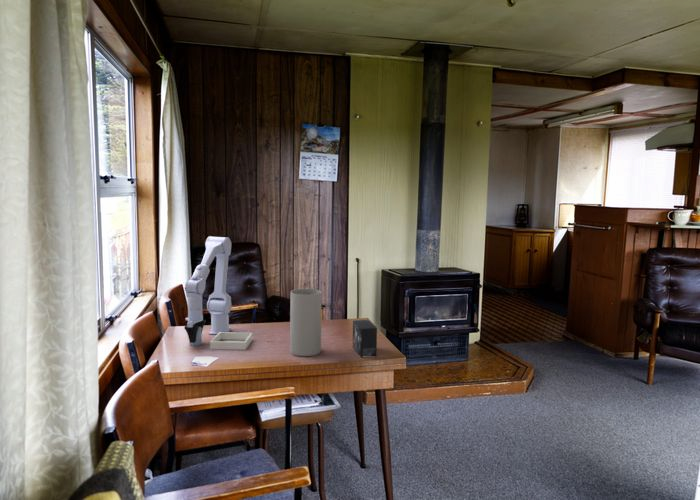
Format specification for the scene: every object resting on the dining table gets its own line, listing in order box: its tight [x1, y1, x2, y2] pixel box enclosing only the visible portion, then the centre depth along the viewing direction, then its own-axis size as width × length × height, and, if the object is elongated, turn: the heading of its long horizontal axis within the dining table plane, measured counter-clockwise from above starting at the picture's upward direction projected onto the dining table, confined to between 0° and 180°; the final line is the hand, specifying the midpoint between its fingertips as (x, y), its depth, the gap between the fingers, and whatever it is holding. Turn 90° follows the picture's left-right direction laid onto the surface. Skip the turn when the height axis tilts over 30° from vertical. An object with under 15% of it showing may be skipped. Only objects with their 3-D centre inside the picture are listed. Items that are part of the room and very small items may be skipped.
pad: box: [224, 340, 243, 342], centre depth 211 cm, size 7×7×1 cm
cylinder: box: [188, 327, 203, 347], centre depth 209 cm, size 5×5×7 cm
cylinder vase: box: [289, 288, 323, 357], centre depth 201 cm, size 12×12×25 cm
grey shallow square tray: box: [209, 331, 254, 351], centre depth 210 cm, size 15×15×3 cm
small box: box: [352, 319, 378, 358], centre depth 203 cm, size 13×7×12 cm, turn 15°
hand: (195, 339), depth 209 cm, fingers open, 7 cm apart
